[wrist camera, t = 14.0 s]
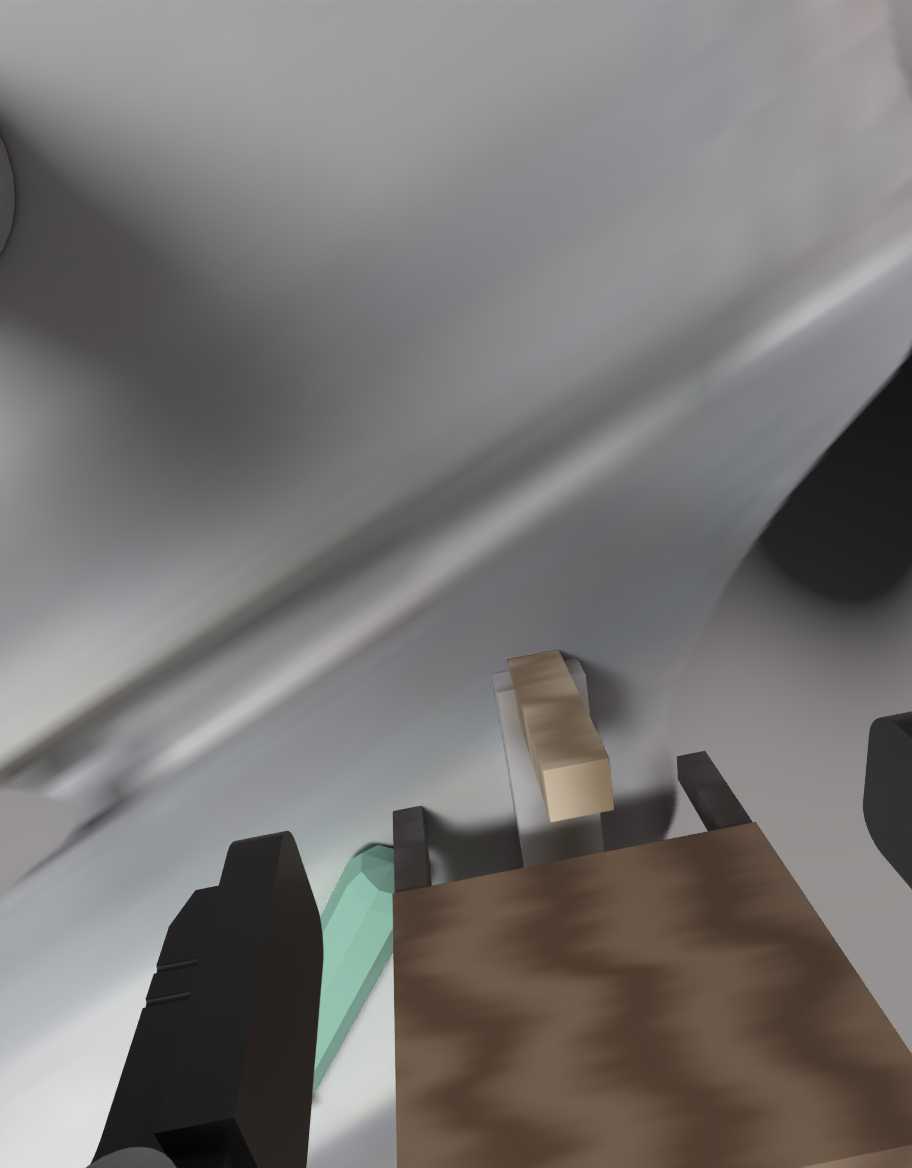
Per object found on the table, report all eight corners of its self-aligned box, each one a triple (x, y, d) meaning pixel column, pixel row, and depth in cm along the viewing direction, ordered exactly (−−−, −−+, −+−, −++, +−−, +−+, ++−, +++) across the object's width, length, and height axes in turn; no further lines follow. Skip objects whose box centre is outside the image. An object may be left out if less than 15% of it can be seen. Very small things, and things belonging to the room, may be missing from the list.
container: (368, 907, 40) (225, 1179, 48) (453, 899, 44) (307, 1154, 51) (334, 828, 45) (208, 1088, 52) (414, 826, 48) (285, 1071, 56)
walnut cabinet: (420, 924, 49) (447, 1381, 29) (390, 810, 45) (398, 1250, 25) (709, 867, 49) (933, 1279, 29) (706, 749, 45) (965, 1133, 25)
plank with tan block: (539, 960, 52) (573, 1110, 42) (489, 663, 41) (521, 775, 32) (608, 946, 52) (657, 1092, 43) (575, 646, 41) (631, 753, 32)
